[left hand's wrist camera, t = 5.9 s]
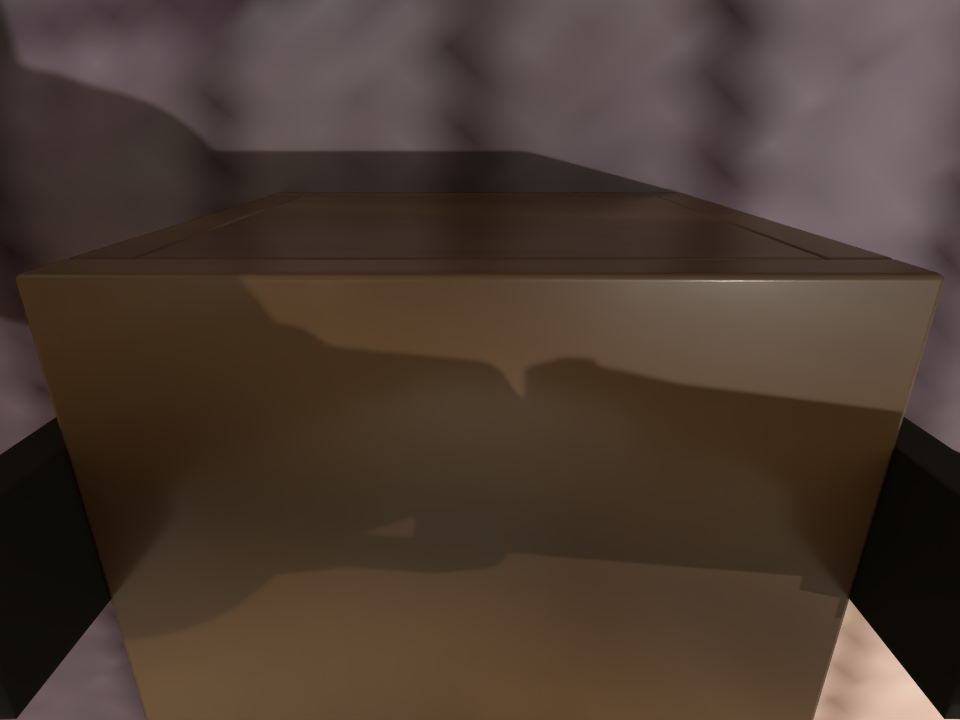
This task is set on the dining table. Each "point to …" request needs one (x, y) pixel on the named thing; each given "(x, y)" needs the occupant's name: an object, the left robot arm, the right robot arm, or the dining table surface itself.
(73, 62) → the dining table surface
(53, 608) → the left robot arm
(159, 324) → the cabinet
